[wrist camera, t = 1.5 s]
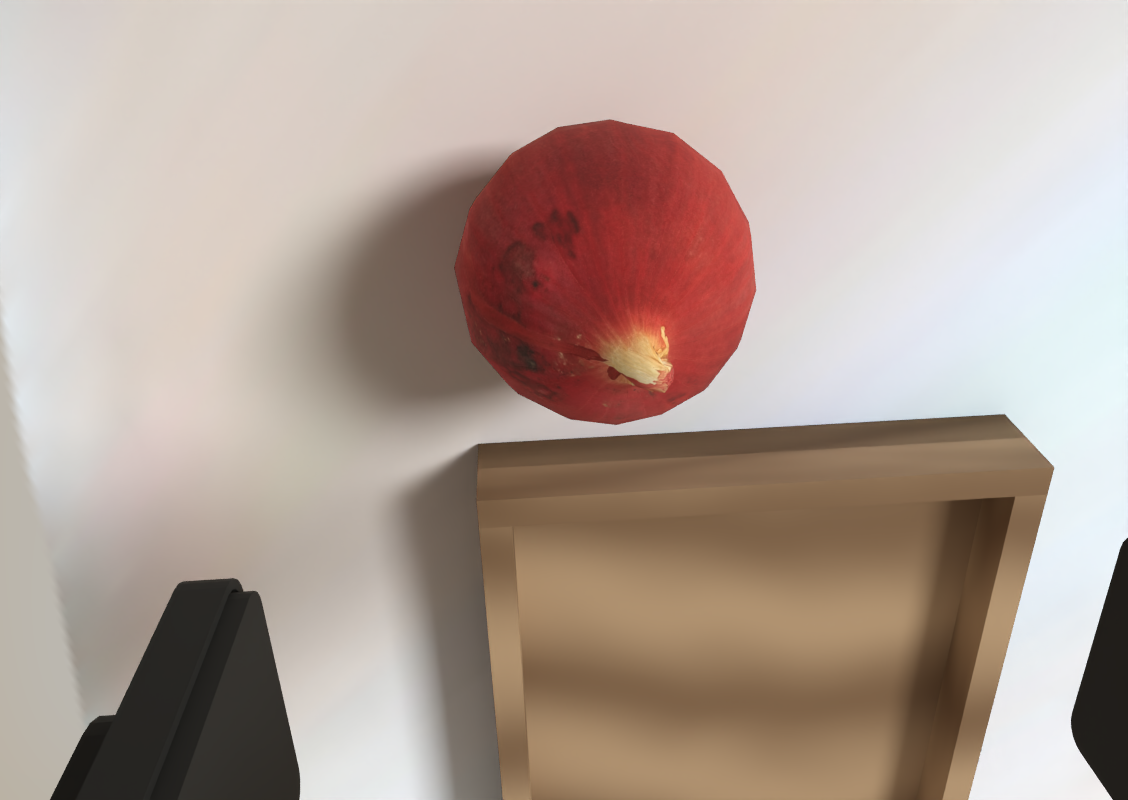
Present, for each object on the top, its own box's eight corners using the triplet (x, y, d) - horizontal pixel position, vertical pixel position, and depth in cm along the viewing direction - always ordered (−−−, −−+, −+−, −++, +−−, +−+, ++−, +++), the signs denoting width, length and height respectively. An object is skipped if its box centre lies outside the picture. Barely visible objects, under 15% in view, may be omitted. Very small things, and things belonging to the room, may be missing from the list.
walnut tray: (478, 444, 25) (476, 501, 23) (1004, 414, 26) (1054, 467, 23) (512, 844, 33) (512, 916, 30) (915, 814, 33) (946, 883, 31)
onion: (491, 348, 24) (489, 547, 17) (437, 114, 21) (406, 235, 14) (724, 305, 24) (821, 488, 17) (700, 63, 21) (804, 160, 14)
